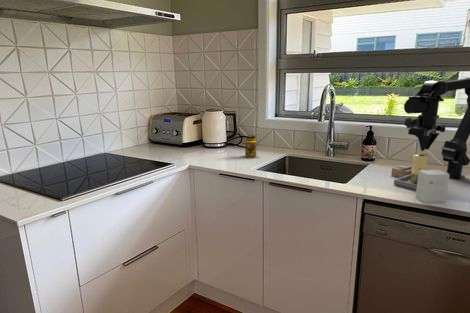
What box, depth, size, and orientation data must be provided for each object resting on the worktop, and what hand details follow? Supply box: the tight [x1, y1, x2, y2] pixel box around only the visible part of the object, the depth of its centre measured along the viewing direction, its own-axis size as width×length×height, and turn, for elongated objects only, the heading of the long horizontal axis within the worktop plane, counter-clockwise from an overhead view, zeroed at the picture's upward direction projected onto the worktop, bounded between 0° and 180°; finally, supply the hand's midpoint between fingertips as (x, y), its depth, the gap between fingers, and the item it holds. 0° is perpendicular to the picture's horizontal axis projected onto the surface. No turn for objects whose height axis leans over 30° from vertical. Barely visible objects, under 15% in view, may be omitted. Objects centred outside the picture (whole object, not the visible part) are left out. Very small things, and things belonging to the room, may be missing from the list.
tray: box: [393, 174, 417, 191], centre depth 136 cm, size 12×12×2 cm
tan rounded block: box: [390, 165, 412, 178], centre depth 148 cm, size 9×7×5 cm
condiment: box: [241, 134, 259, 160], centre depth 185 cm, size 7×8×12 cm
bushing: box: [410, 153, 429, 185], centre depth 134 cm, size 5×5×12 cm
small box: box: [415, 169, 450, 204], centre depth 119 cm, size 8×6×10 cm
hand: (424, 150), depth 140 cm, fingers open, 3 cm apart
